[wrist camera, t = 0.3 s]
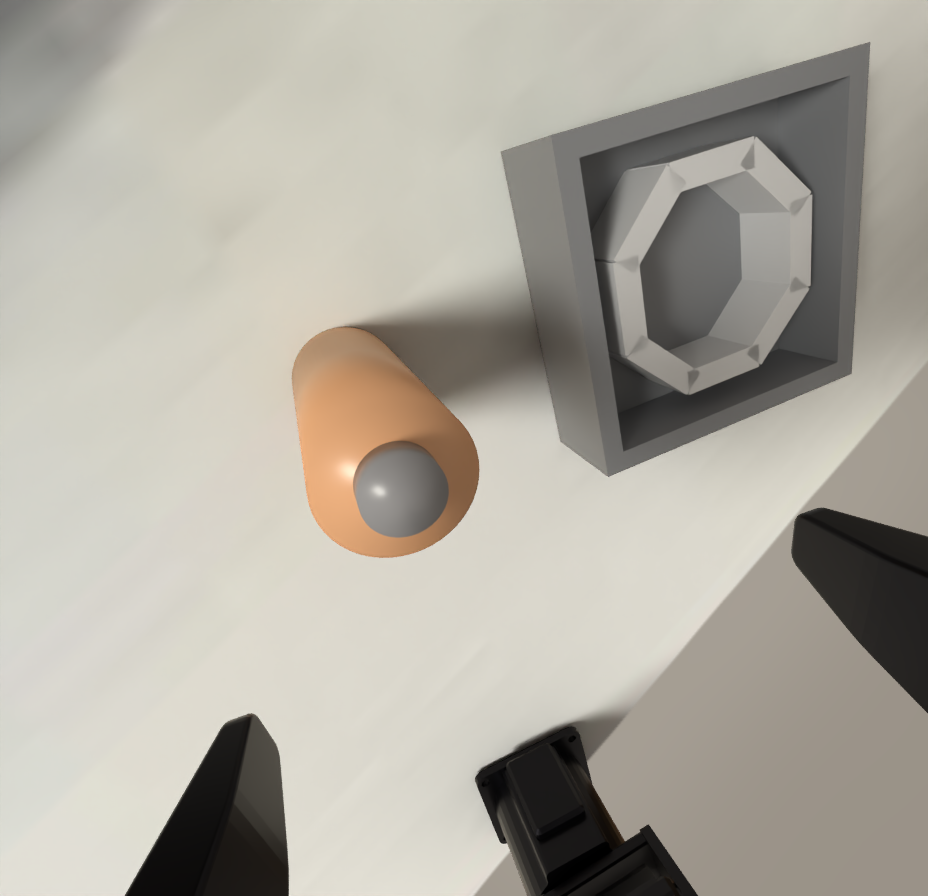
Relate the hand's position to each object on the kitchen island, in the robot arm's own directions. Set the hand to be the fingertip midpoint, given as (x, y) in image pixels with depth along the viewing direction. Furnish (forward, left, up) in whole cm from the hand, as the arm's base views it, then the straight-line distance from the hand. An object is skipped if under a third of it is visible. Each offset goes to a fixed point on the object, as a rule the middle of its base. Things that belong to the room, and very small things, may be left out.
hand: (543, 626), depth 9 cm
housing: (+1, -13, -15) cm, 19 cm away
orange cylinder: (+1, +1, -15) cm, 15 cm away
